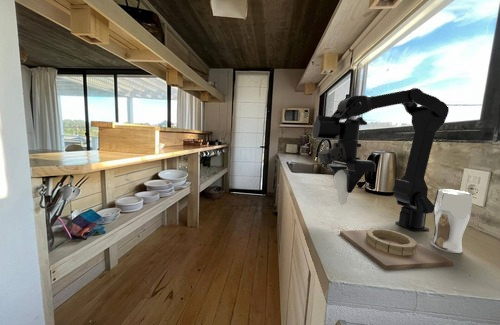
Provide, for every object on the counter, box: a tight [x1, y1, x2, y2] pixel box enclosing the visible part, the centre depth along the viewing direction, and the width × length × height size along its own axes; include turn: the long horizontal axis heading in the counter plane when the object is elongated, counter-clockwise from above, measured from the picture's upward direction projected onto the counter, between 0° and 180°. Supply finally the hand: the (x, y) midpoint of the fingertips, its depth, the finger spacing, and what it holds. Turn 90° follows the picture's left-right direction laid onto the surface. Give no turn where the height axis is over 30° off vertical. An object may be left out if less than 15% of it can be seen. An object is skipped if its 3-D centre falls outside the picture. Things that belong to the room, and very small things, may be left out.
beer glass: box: [430, 188, 473, 254], centre depth 55 cm, size 7×7×15 cm
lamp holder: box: [339, 227, 454, 271], centre depth 54 cm, size 17×17×3 cm
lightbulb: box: [333, 170, 350, 205], centre depth 66 cm, size 6×6×11 cm
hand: (343, 190), depth 66 cm, fingers closed on lightbulb, 6 cm apart
